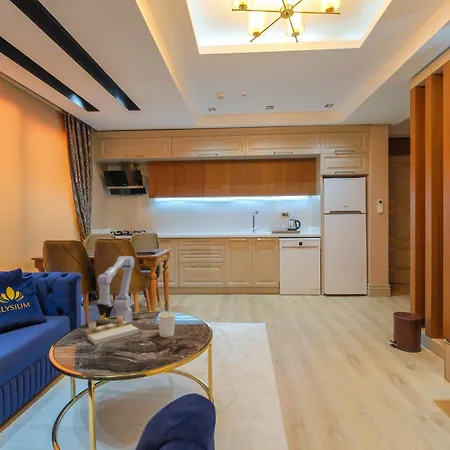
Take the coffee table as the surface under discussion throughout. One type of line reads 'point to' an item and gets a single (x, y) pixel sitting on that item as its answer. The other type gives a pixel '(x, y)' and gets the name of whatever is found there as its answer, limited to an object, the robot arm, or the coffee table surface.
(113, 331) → the dock
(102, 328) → the beige long bar
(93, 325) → the taupe tapered cylinder
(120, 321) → the cylinder
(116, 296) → the robot arm
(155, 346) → the coffee table surface
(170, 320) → the candle holder
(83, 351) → the coffee table surface
